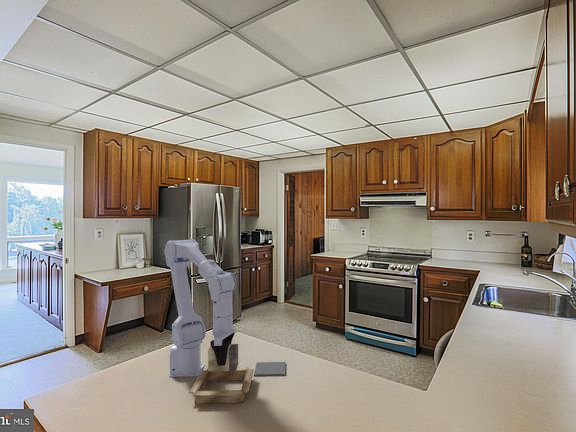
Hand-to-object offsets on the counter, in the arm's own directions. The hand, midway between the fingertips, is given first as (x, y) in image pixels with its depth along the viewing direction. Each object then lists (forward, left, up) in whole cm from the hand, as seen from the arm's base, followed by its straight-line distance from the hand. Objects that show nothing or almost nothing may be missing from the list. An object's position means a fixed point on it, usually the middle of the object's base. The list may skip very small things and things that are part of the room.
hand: (223, 361), depth 94 cm
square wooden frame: (0, 0, -8) cm, 8 cm away
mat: (+13, +13, -8) cm, 20 cm away
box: (0, 0, -2) cm, 2 cm away
